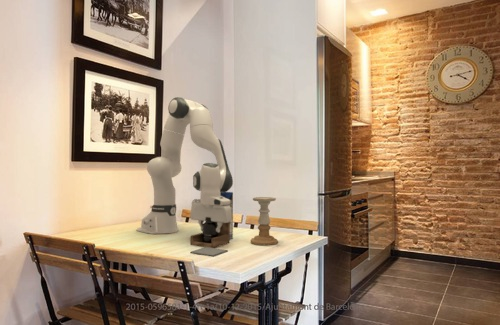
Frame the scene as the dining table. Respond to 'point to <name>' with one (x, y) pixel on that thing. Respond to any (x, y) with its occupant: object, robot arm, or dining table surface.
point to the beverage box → (230, 196)
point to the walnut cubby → (216, 241)
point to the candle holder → (264, 223)
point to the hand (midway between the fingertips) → (210, 231)
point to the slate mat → (209, 251)
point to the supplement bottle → (209, 230)
